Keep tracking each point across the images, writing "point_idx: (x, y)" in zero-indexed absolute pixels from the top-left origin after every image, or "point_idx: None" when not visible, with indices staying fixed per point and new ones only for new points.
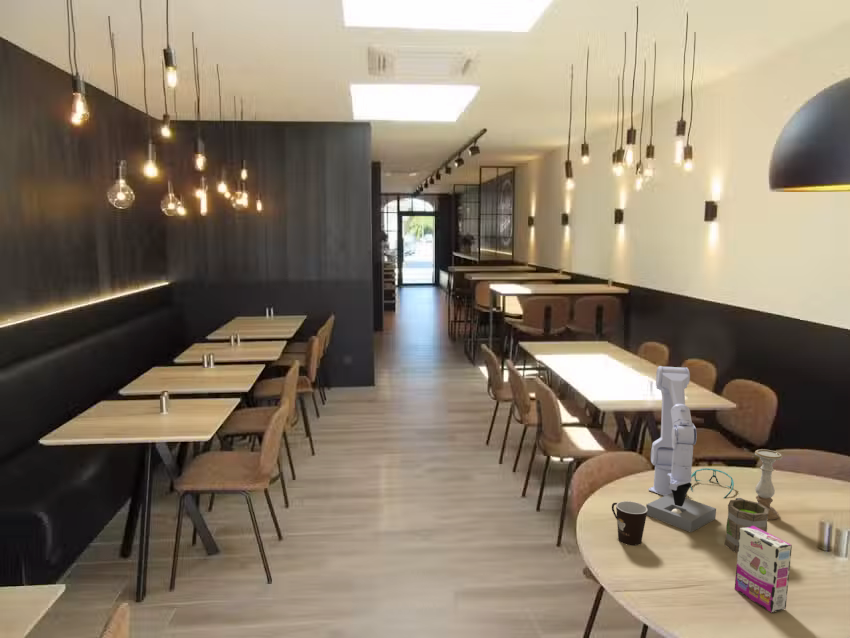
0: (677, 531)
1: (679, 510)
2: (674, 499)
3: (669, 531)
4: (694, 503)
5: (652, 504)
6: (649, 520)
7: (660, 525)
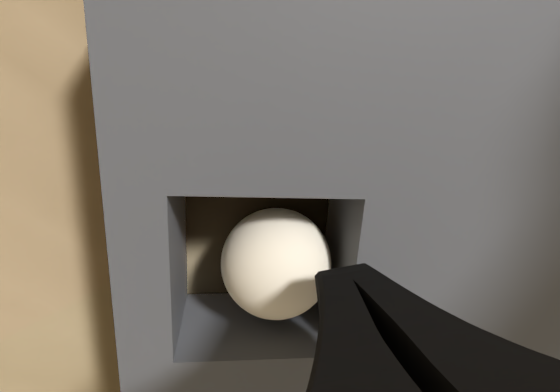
0: (80, 345)
1: (286, 312)
2: (321, 312)
3: (18, 313)
4: (549, 320)
5: (158, 26)
6: (43, 90)
7: (47, 213)
